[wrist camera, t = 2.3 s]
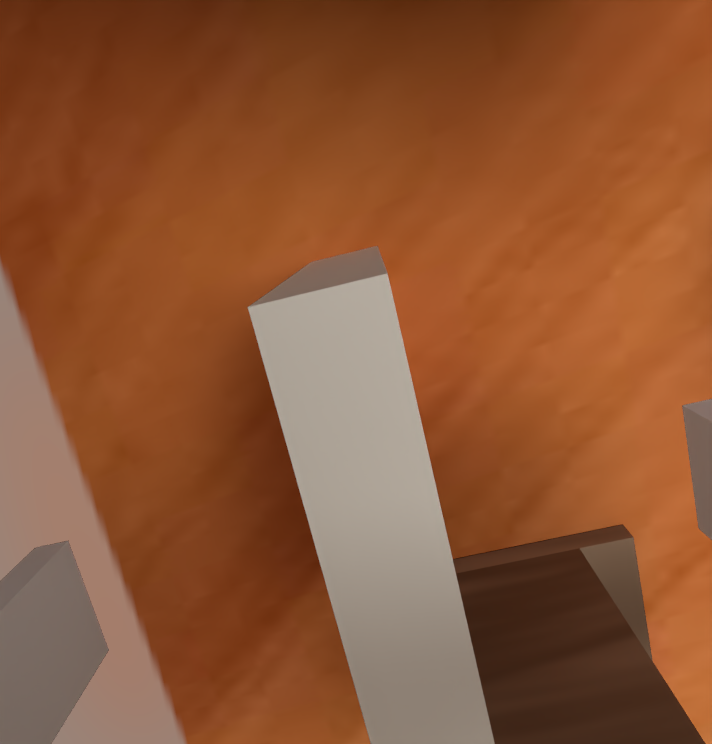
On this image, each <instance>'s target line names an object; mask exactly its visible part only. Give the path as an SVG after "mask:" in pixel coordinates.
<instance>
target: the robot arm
mask: <svg viewBox="0 0 712 744" xmlns="http://www.w3.org/2000/svg"><path fill="white" fill-rule="evenodd" d="M682 407H683V415H684V422H685V430H686V437H687V445H688V452H689V460H690V467H691V475H692V482H693V490H694V497H695V505H696V512H697V520H698V527H699V529H700V530H701V531H702V532H703V533H704V534H706V535H707V536H708V537H709V538H710V539H711V540H712V399H709V400H705V401H700V402H696V403H691V404H686V405H682ZM108 650H109V649H108V647H107V644H106V642H105V639H104V636H103V633H102V630H101V628H100V625H99V623H98V620H97V617H96V614H95V612H94V609H93V606H92V604H91V601H90V598H89V596H88V593H87V590H86V587H85V585H84V582H83V579H82V577H81V574H80V571H79V568H78V566H77V563H76V560H75V558H74V555H73V552H72V550H71V547H70V544H69V542H68V541H64V542H60V543H55V544H50V545H46V546H42V547H37V548H34V549H33V550H32V551H31V552H30V553H29V554H28V555H27V556H26V557H25V558H24V559H23V560H22V561H21V562H20V563H19V564H18V565H16V566H15V567H14V568H13V569H12V570H11V571H10V572H9V573H8V574H7V575H6V576H5V577H4V578H3V579H2V580H1V581H0V744H52V742H53V740H54V739H55V737H56V735H57V734H58V732H59V730H60V729H61V727H62V726H63V724H64V722H65V720H66V719H67V717H68V716H69V714H70V713H71V711H72V709H73V708H74V706H75V704H76V703H77V701H78V700H79V698H80V696H81V695H82V693H83V691H84V690H85V688H86V687H87V685H88V683H89V682H90V680H91V678H92V677H93V675H94V673H95V672H96V670H97V669H98V667H99V665H100V664H101V662H102V660H103V659H104V657H105V656H106V654H107V652H108Z"/></svg>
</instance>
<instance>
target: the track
mask: <svg viewBox="0 0 712 744" xmlns="http://www.w3.org/2000/svg"><path fill="white" fill-rule="evenodd" d="M453 563H454V567H455V572H456V576H457V581H458V585H459V589H460V594H461V598H462V602H463V607H464V611H465V616H466V620H467V624H468V629H469V633H470V638H471V642H472V646H473V651H474V655H475V659H476V664H477V668H478V673H479V677H480V681H481V686H482V690H483V695H484V699H485V703H486V708H487V712H488V717H489V721H490V725H491V730H492V734H493V738H494V743H495V744H705V742H704V741H703V739H702V738H701V736H700V734H699V733H698V731H697V730H696V728H695V727H694V725H693V724H692V722H691V720H690V719H689V717H688V716H687V714H686V713H685V711H684V710H683V708H682V706H681V705H680V703H679V702H678V700H677V699H676V697H675V696H674V694H673V693H672V691H671V689H670V688H669V686H668V685H667V683H666V682H665V680H664V679H663V677H662V675H661V674H660V672H659V671H658V669H657V668H656V666H655V665H654V663H653V661H652V655H651V649H650V642H649V636H648V629H647V623H646V616H645V610H644V603H643V596H642V590H641V583H640V577H639V570H638V564H637V557H636V551H635V544H634V538H633V536H632V535H631V534H630V533H629V531H628V530H627V529H626V528H625V527H624V525H618V526H614V527H609V528H604V529H599V530H594V531H589V532H584V533H579V534H575V535H570V536H565V537H560V538H555V539H550V540H545V541H541V542H536V543H531V544H526V545H521V546H516V547H511V548H507V549H502V550H497V551H492V552H487V553H482V554H477V555H472V556H468V557H463V558H458V559H453Z"/></svg>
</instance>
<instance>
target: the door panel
mask: <svg viewBox="0 0 712 744" xmlns="http://www.w3.org/2000/svg"><path fill="white" fill-rule="evenodd" d="M248 310H249V313H250V317H251V320H252V324H253V327H254V331H255V335H256V338H257V342H258V345H259V349H260V352H261V356H262V359H263V363H264V367H265V370H266V374H267V377H268V381H269V384H270V388H271V391H272V395H273V398H274V402H275V406H276V409H277V413H278V416H279V420H280V423H281V427H282V430H283V434H284V437H285V441H286V445H287V448H288V452H289V455H290V459H291V462H292V466H293V469H294V473H295V476H296V480H297V484H298V487H299V491H300V494H301V498H302V501H303V505H304V508H305V512H306V516H307V519H308V523H309V526H310V530H311V533H312V537H313V540H314V544H315V547H316V551H317V555H318V558H319V562H320V565H321V569H322V572H323V576H324V579H325V583H326V586H327V590H328V594H329V597H330V601H331V604H332V608H333V611H334V615H335V618H336V622H337V625H338V629H339V633H340V636H341V640H342V643H343V647H344V650H345V654H346V657H347V661H348V665H349V668H350V672H351V675H352V679H353V682H354V686H355V689H356V693H357V696H358V700H359V704H360V707H361V711H362V714H363V718H364V721H365V725H366V728H367V732H368V735H369V739H370V743H371V744H495V743H494V738H493V734H492V730H491V725H490V721H489V717H488V712H487V708H486V703H485V699H484V695H483V690H482V686H481V681H480V677H479V673H478V668H477V664H476V659H475V655H474V651H473V646H472V642H471V638H470V633H469V629H468V624H467V620H466V616H465V611H464V607H463V602H462V598H461V594H460V589H459V585H458V581H457V576H456V572H455V567H454V563H453V559H452V554H451V550H450V545H449V541H448V537H447V532H446V528H445V524H444V519H443V515H442V510H441V506H440V502H439V497H438V493H437V488H436V484H435V480H434V475H433V471H432V467H431V462H430V458H429V453H428V449H427V445H426V440H425V436H424V431H423V427H422V423H421V418H420V414H419V410H418V405H417V401H416V396H415V392H414V388H413V383H412V379H411V374H410V370H409V366H408V361H407V357H406V352H405V348H404V344H403V339H402V335H401V331H400V326H399V322H398V317H397V313H396V309H395V304H394V300H393V295H392V291H391V287H390V282H389V278H388V274H387V271H386V268H385V265H384V262H383V260H382V257H381V254H380V251H379V248H378V246H374V247H370V248H366V249H362V250H358V251H354V252H350V253H346V254H342V255H338V256H334V257H330V258H325V259H321V260H317V261H313V262H311V263H309V264H308V265H306V266H305V267H304V268H302V269H301V270H299V271H298V272H297V273H295V274H294V275H292V276H291V277H289V278H288V279H287V280H285V281H284V282H282V283H281V284H280V285H278V286H277V287H275V288H274V289H273V290H271V291H270V292H268V293H267V294H266V295H264V296H263V297H261V298H260V299H259V300H257V301H256V302H254V303H253V304H252V305H250V306H249V307H248Z"/></svg>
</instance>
